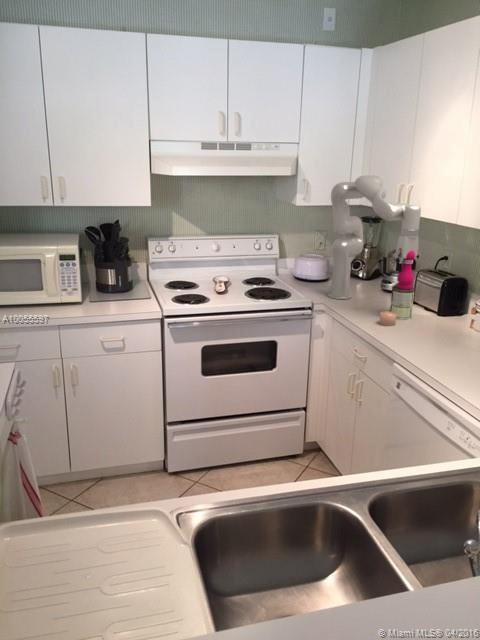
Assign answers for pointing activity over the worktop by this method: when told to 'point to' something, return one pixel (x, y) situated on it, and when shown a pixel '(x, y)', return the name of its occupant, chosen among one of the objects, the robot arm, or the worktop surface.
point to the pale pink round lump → (387, 318)
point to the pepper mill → (406, 272)
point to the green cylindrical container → (402, 302)
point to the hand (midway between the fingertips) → (405, 270)
